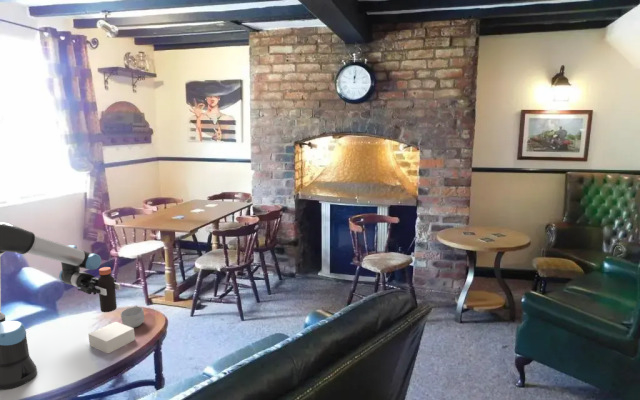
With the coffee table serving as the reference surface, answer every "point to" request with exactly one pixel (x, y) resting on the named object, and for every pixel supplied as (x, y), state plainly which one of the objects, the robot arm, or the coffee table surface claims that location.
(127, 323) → the teacup
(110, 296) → the vinegar
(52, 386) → the coffee table surface
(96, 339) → the riser
